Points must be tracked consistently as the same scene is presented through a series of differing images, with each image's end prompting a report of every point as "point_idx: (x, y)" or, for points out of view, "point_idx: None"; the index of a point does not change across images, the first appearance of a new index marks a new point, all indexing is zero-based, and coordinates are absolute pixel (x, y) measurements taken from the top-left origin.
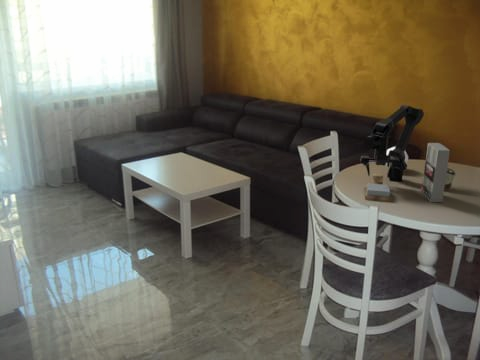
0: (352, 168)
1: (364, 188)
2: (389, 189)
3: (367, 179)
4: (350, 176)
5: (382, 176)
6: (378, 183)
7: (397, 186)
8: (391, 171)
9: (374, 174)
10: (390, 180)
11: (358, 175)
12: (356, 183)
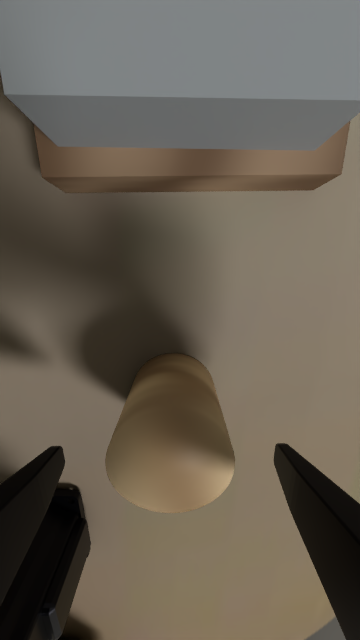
0: (306, 630)
1: (347, 127)
2: (42, 167)
3: (238, 483)
4: None
5: (114, 443)
6: (165, 366)
7: (12, 384)
8: (31, 606)
9: (214, 491)
10: (74, 490)
11: (291, 539)
12: (341, 383)
